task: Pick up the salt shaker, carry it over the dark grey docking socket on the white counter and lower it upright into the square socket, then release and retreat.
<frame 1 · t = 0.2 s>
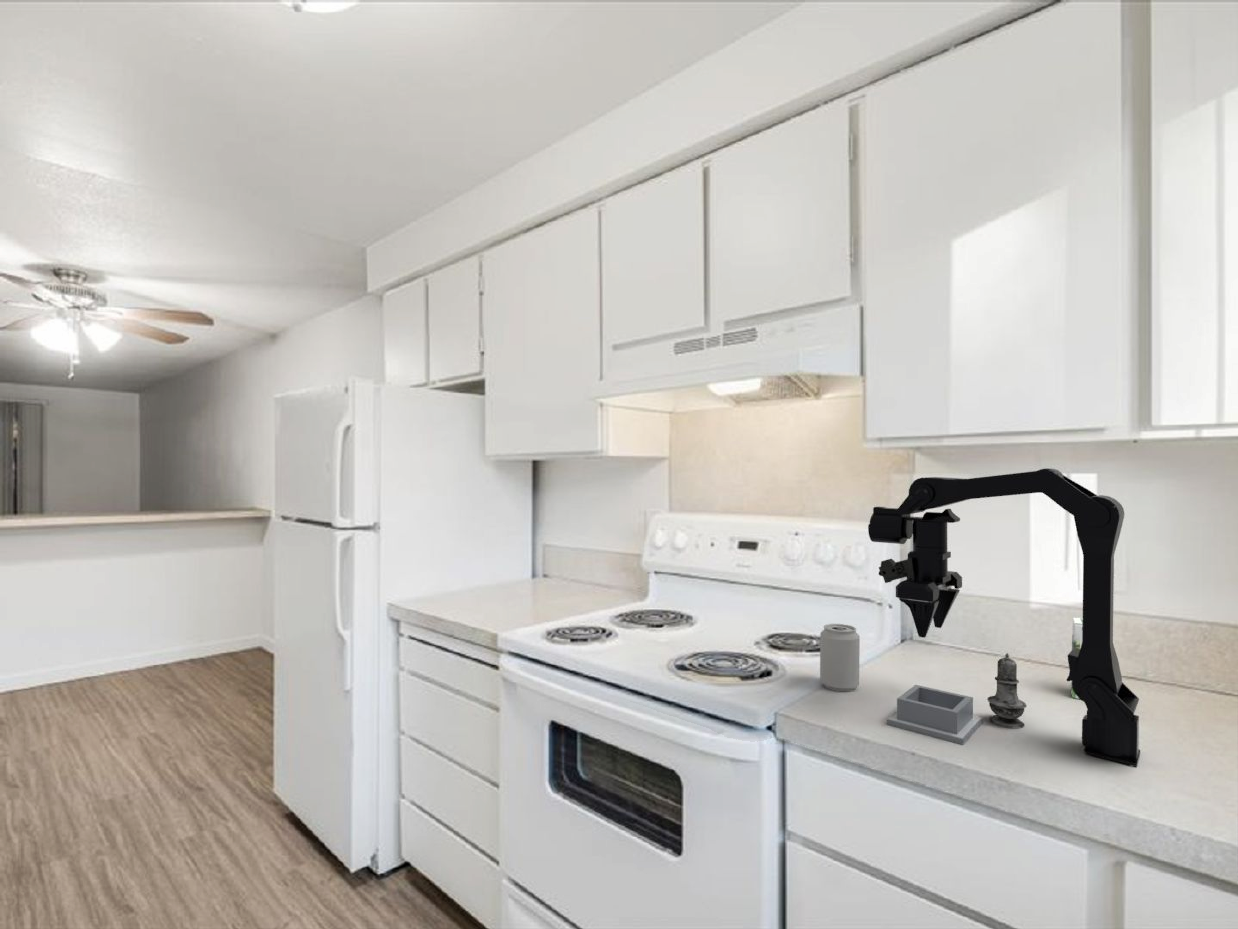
hand: (930, 632, 120), 14 cm above the countertop, fingers open, 9 cm apart
syrup box: (1089, 698, 127), on the countertop
dock: (934, 723, 114), on the countertop
can: (839, 687, 133), on the countertop
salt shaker: (1006, 723, 115), on the countertop
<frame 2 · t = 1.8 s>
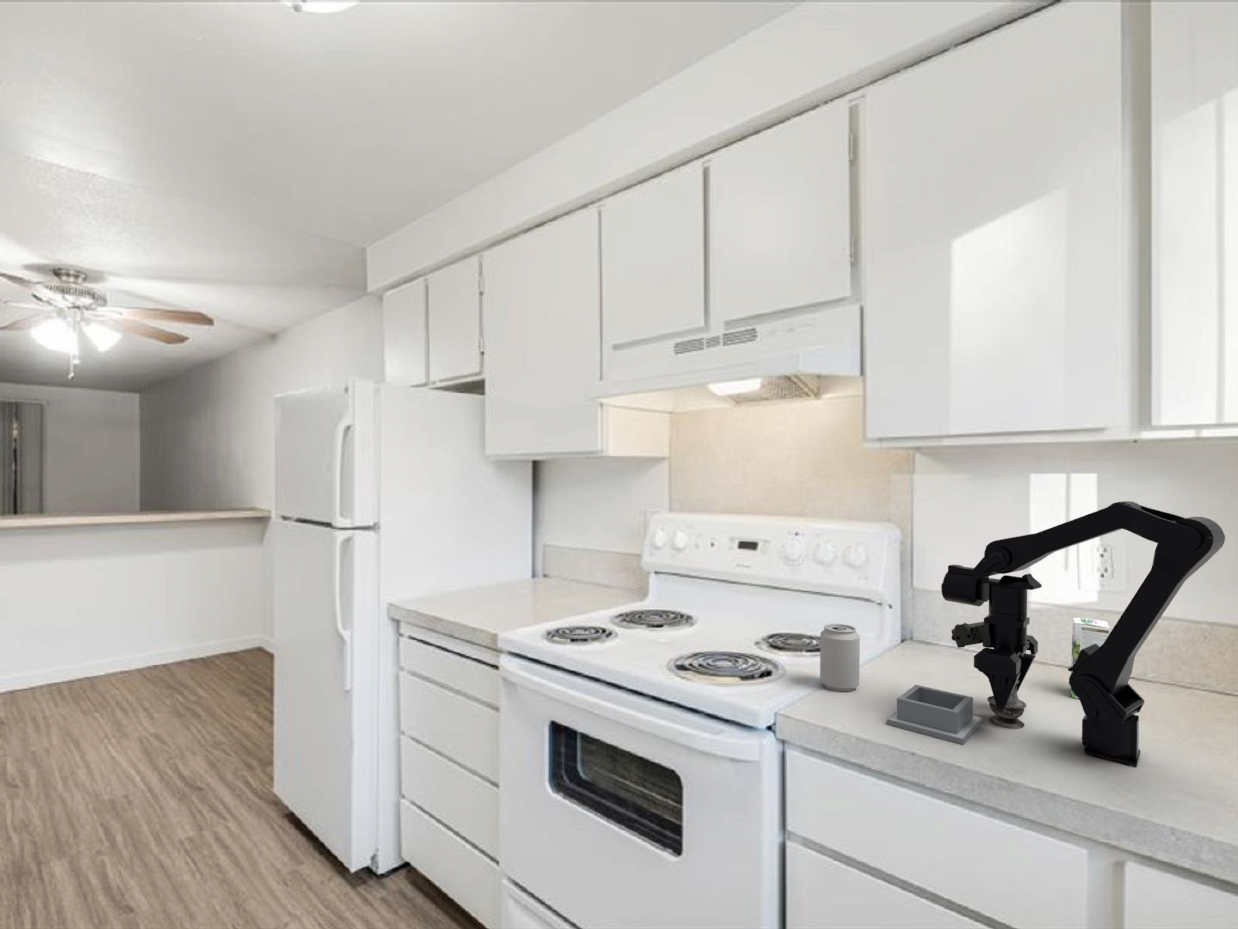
hand: (1006, 701, 115), 4 cm above the countertop, fingers closed on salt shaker, 8 cm apart
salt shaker: (1006, 723, 115), on the countertop, touching gripper
everything else where it was.
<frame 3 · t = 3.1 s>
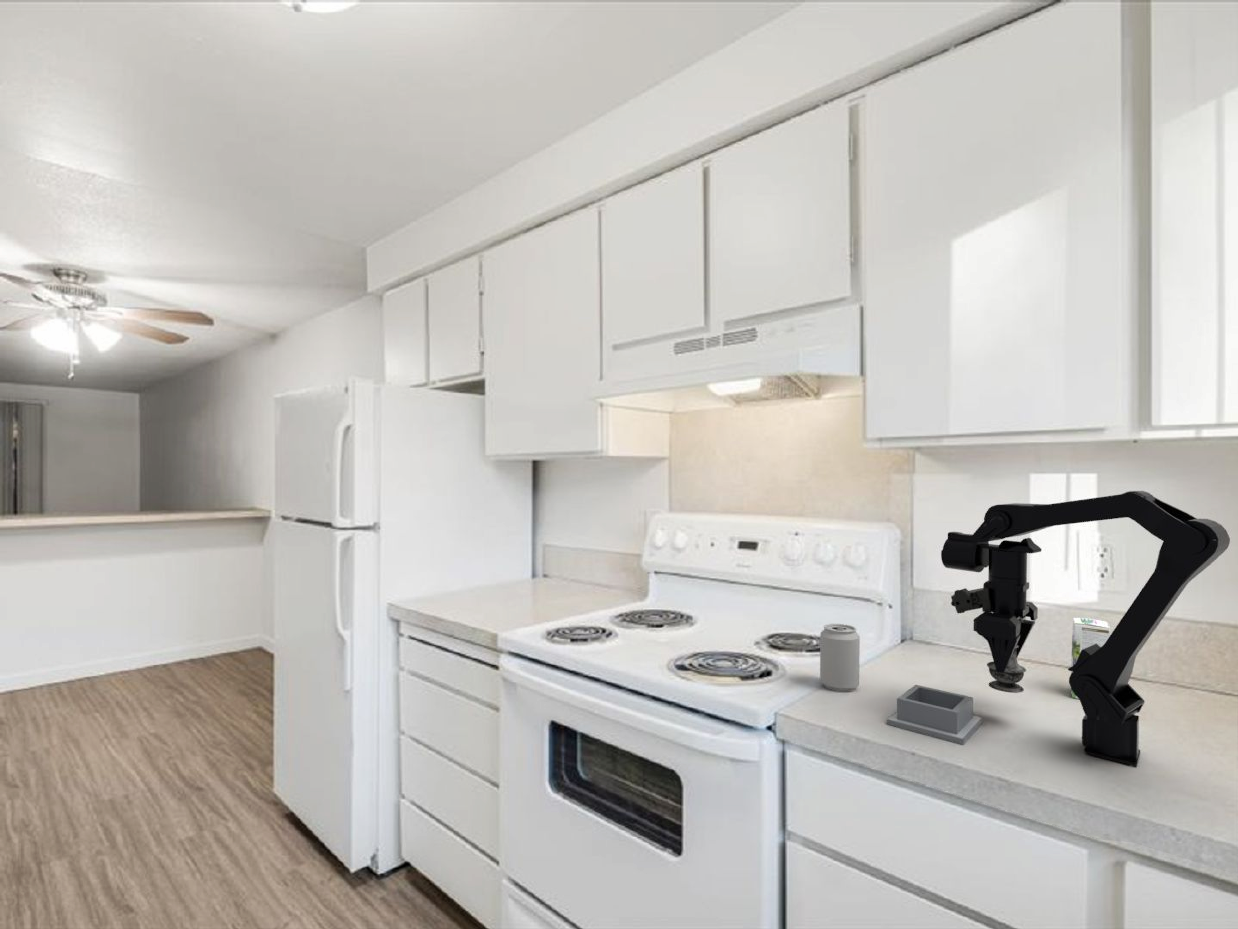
hand: (1006, 666, 115), 10 cm above the countertop, fingers closed on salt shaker, 8 cm apart
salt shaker: (1005, 688, 115), point 6 cm above the countertop, touching gripper
everything else where it was.
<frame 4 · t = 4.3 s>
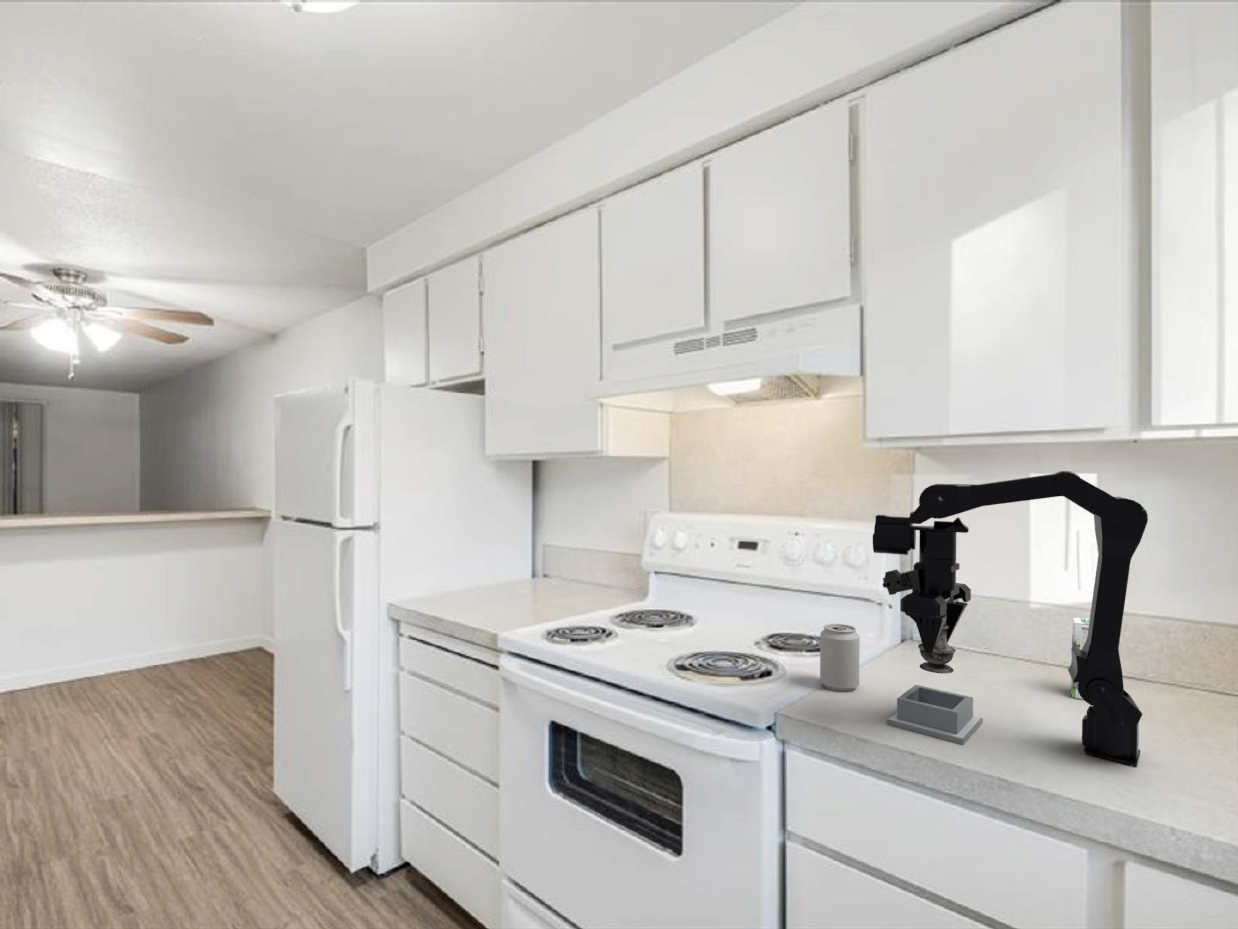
hand: (936, 647, 114), 13 cm above the countertop, fingers closed on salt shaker, 8 cm apart
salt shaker: (936, 669, 114), point 9 cm above the countertop, touching gripper
everything else where it was.
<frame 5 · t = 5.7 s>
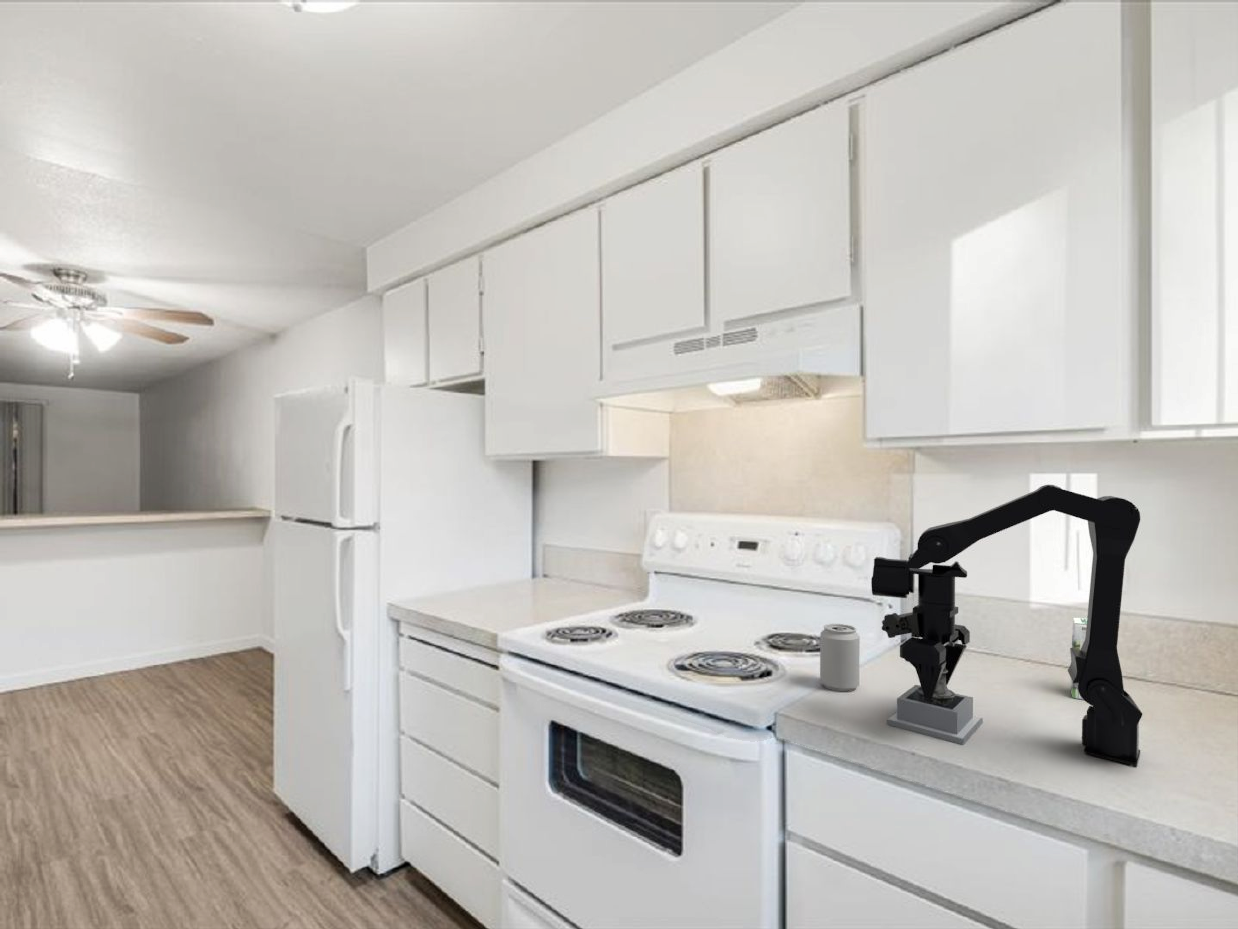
hand: (935, 691, 114), 5 cm above the countertop, fingers closed on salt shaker, 8 cm apart
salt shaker: (936, 713, 114), point 2 cm above the countertop, touching gripper
everything else where it was.
when the fingers open (5 cm above the countertop, at t = 6.7 s): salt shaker stays where it is, resting on dock.
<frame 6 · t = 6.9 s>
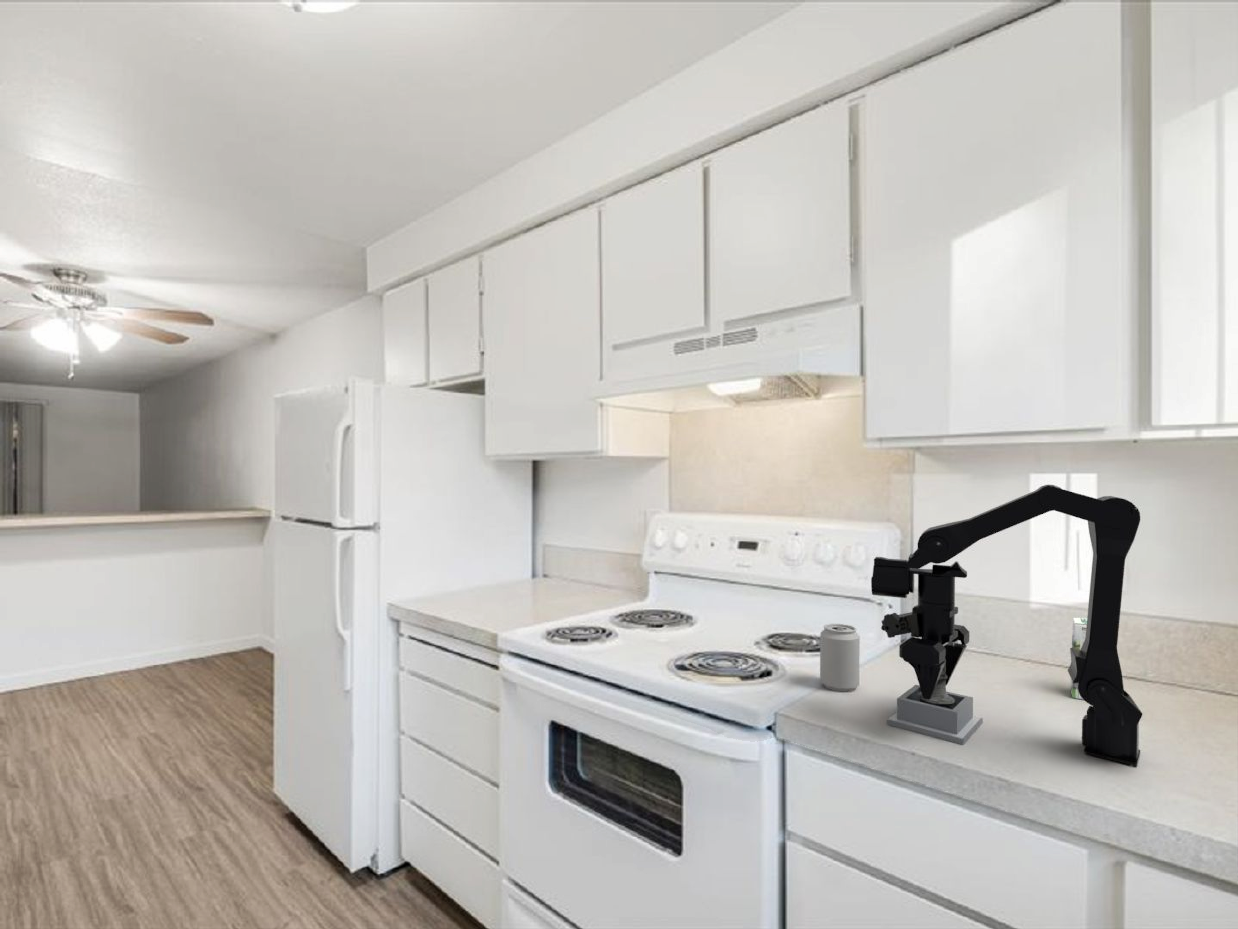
hand: (935, 691, 114), 5 cm above the countertop, fingers open, 9 cm apart
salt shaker: (935, 719, 114), point 1 cm above the countertop, touching dock
everything else where it was.
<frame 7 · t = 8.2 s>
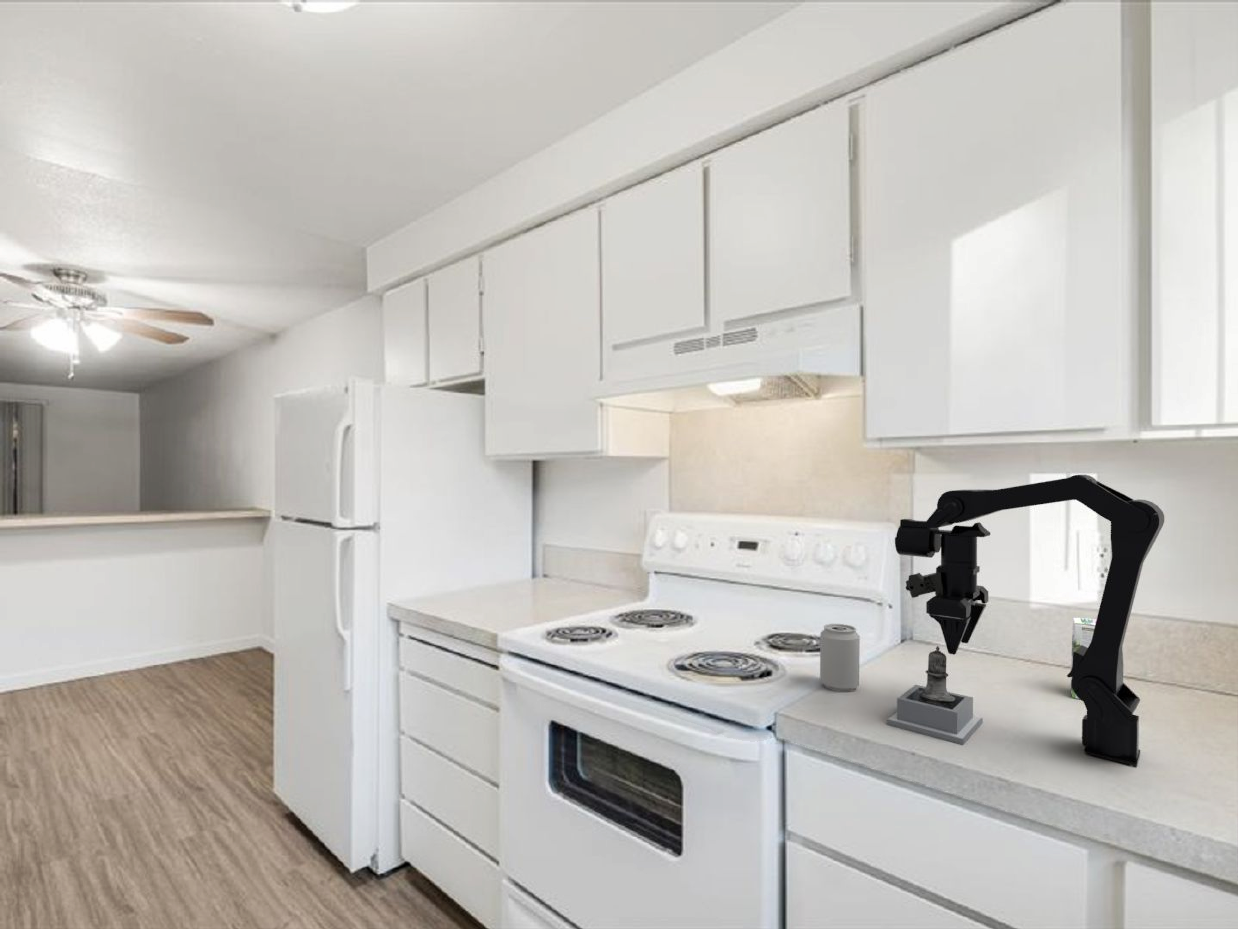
hand: (958, 648, 118), 12 cm above the countertop, fingers open, 9 cm apart
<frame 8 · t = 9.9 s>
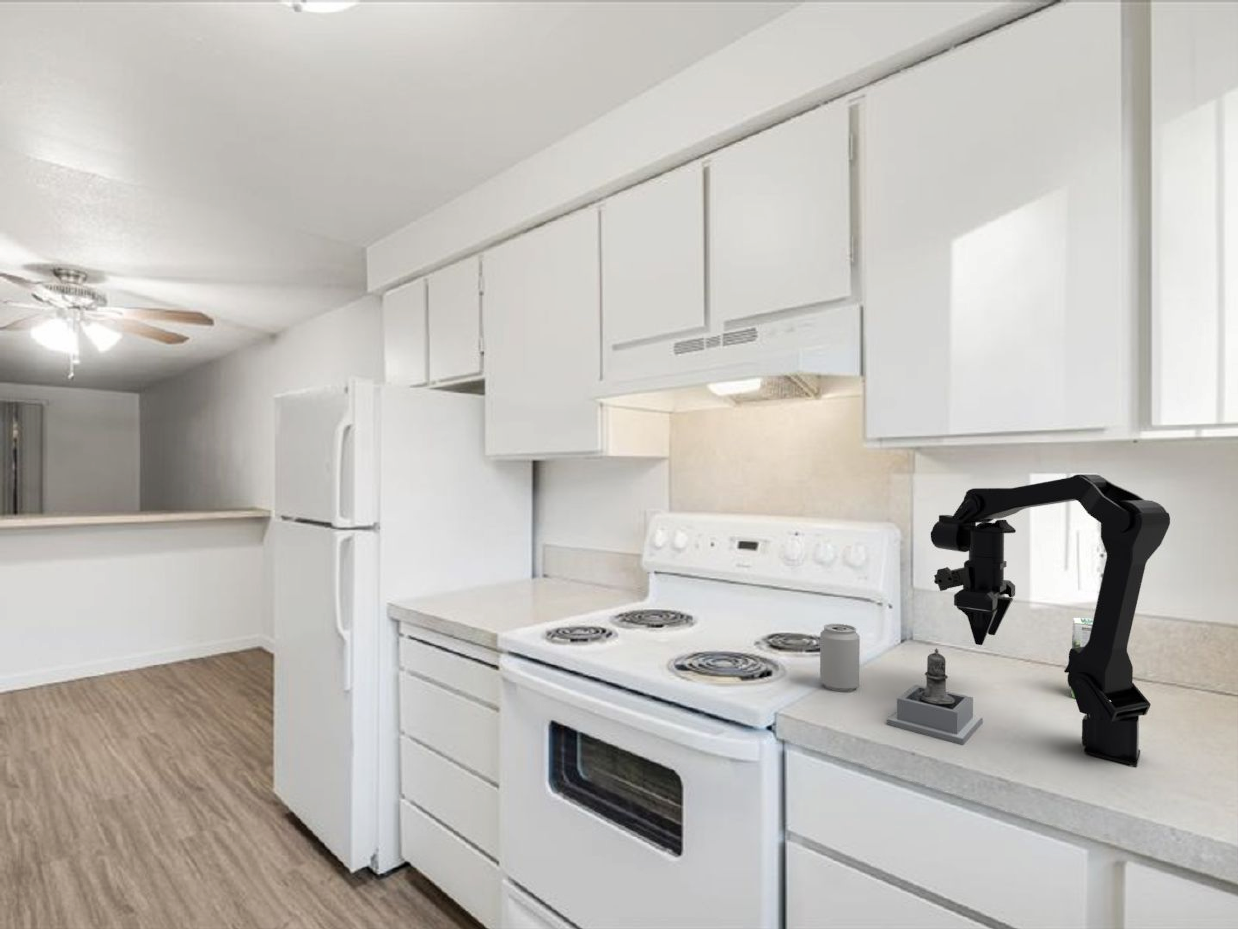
hand: (985, 639, 123), 12 cm above the countertop, fingers open, 9 cm apart
nothing on the countertop moved.
at the end: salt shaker 0.1 cm off-centre on the dock, point 0.7 cm above the dock's base; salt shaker tilted 1°; the gripper is holding nothing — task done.
